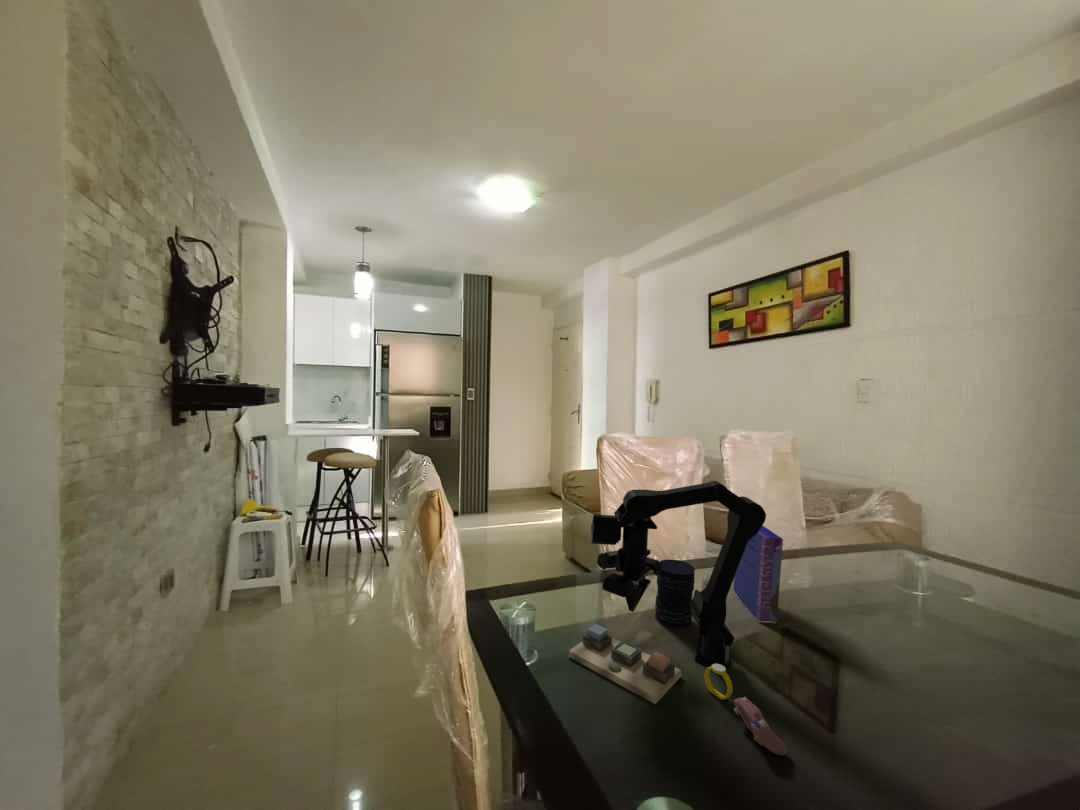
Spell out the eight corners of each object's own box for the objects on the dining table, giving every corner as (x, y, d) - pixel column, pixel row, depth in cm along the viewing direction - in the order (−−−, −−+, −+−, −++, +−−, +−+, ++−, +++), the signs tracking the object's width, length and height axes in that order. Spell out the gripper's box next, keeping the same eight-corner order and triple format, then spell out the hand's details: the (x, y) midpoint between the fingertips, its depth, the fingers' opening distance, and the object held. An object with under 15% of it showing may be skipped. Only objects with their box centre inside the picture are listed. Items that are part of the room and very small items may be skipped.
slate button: (607, 637, 109) (607, 629, 109) (599, 643, 106) (599, 634, 106) (595, 631, 111) (595, 623, 111) (587, 637, 109) (587, 629, 108)
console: (680, 676, 100) (681, 661, 100) (655, 704, 91) (656, 687, 91) (597, 636, 114) (598, 623, 114) (568, 656, 105) (569, 642, 105)
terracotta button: (669, 667, 98) (670, 658, 98) (662, 674, 96) (663, 665, 96) (655, 660, 101) (655, 651, 100) (648, 667, 98) (648, 658, 98)
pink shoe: (738, 724, 89) (725, 694, 88) (759, 713, 89) (746, 683, 88) (768, 767, 79) (753, 733, 78) (791, 755, 79) (776, 721, 78)
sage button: (636, 657, 104) (637, 649, 104) (629, 664, 101) (629, 655, 101) (623, 651, 106) (624, 643, 106) (615, 657, 103) (616, 649, 103)
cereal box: (776, 623, 125) (783, 538, 123) (759, 623, 125) (765, 537, 123) (748, 594, 142) (753, 518, 141) (733, 593, 142) (738, 518, 141)
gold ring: (701, 690, 96) (701, 661, 96) (710, 685, 98) (710, 658, 98) (726, 705, 91) (726, 676, 91) (734, 701, 93) (734, 671, 93)
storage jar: (696, 617, 126) (699, 565, 125) (686, 633, 118) (690, 577, 117) (660, 607, 131) (663, 556, 130) (649, 621, 123) (652, 567, 122)
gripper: (623, 528, 118) (621, 586, 119) (583, 546, 104) (580, 613, 105) (664, 538, 111) (660, 600, 112) (627, 560, 97) (623, 631, 97)
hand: (631, 610), depth 107 cm, fingers closed
